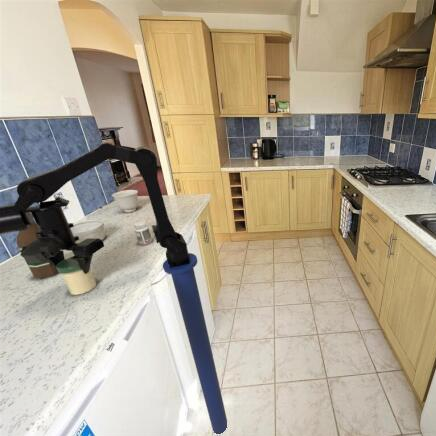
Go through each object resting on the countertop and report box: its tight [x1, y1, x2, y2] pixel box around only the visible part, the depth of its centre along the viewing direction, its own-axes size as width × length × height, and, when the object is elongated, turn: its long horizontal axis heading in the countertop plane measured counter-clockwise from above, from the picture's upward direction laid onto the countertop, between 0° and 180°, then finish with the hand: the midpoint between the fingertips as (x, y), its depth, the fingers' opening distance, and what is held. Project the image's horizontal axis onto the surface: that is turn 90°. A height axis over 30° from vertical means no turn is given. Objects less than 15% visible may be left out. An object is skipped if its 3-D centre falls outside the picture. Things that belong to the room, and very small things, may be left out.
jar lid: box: [56, 256, 81, 274], centre depth 70 cm, size 7×7×2 cm
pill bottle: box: [133, 221, 153, 246], centre depth 97 cm, size 5×5×8 cm
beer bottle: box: [16, 220, 60, 279], centre depth 76 cm, size 8×8×24 cm
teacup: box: [111, 189, 139, 213], centre depth 132 cm, size 12×15×10 cm
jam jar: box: [60, 268, 97, 296], centre depth 71 cm, size 6×6×8 cm
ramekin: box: [70, 219, 106, 243], centre depth 99 cm, size 13×13×7 cm
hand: (75, 273), depth 70 cm, fingers closed on jar lid, 6 cm apart
